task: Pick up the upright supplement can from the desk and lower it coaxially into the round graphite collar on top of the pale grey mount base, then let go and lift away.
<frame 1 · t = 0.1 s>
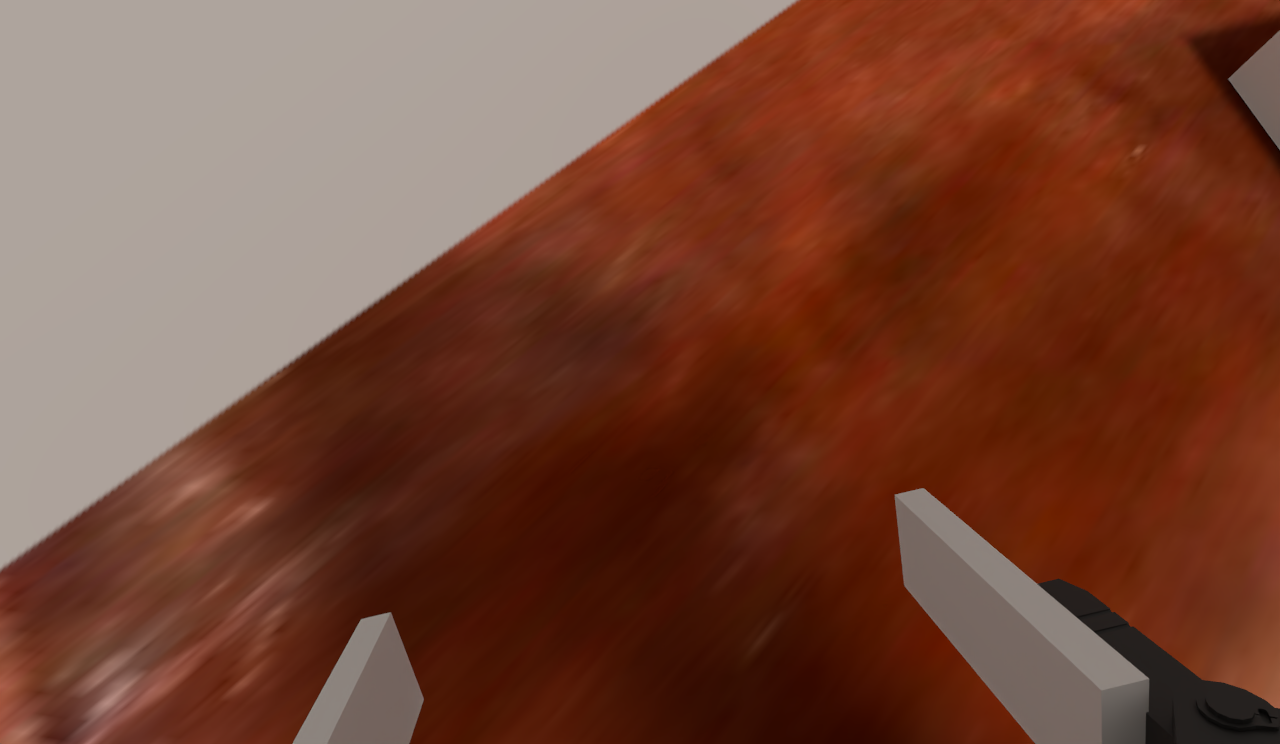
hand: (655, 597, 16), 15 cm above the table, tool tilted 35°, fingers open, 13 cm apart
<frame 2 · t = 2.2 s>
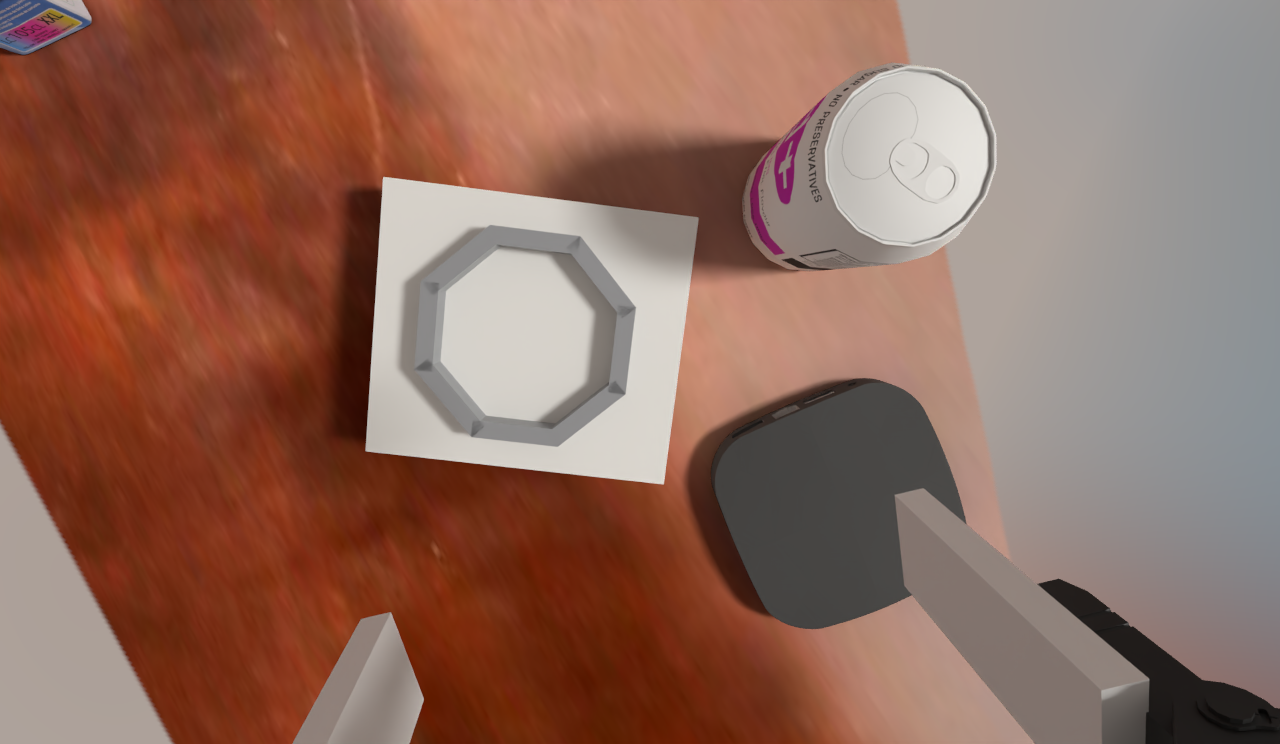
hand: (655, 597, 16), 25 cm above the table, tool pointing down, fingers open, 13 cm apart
supplement can: (802, 206, 40), on the table
mount base: (538, 331, 40), on the table
media streaming box: (829, 496, 43), on the table
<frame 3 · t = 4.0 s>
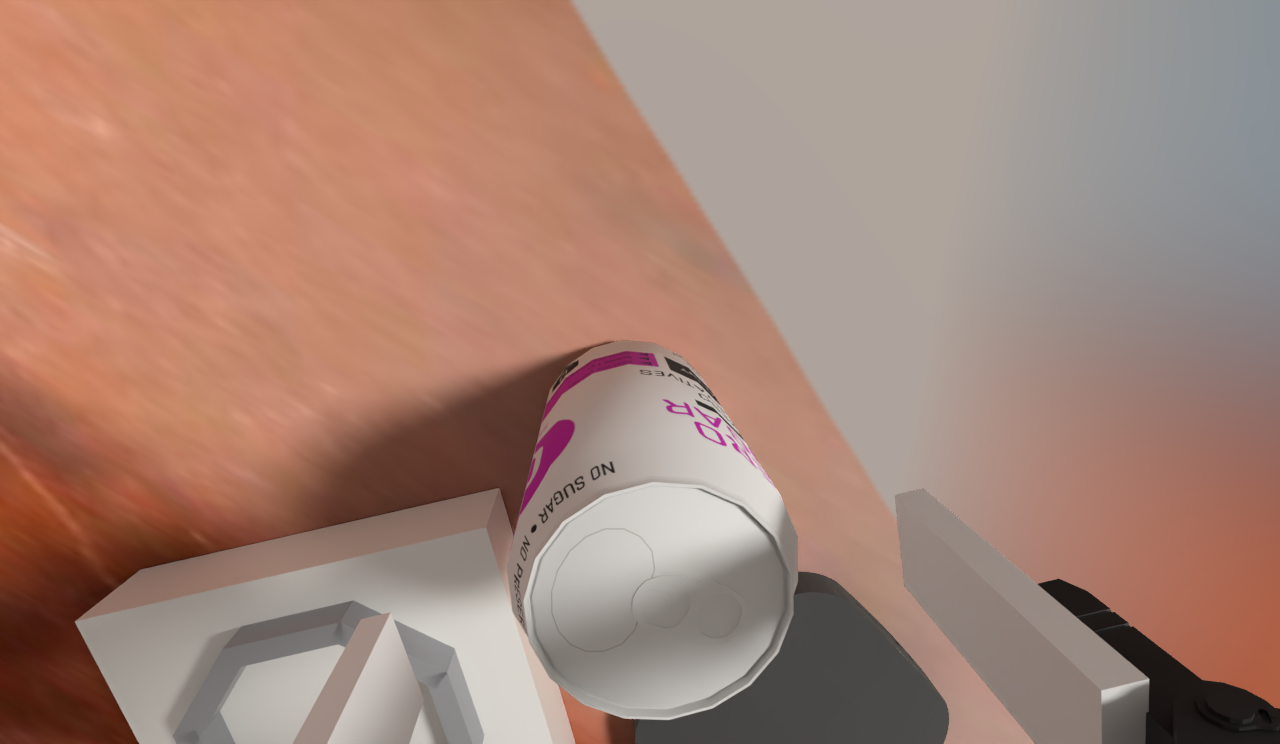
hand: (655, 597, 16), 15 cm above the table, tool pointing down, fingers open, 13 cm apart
supplement can: (628, 417, 31), on the table
mount base: (372, 661, 33), on the table
media streaming box: (781, 699, 36), on the table
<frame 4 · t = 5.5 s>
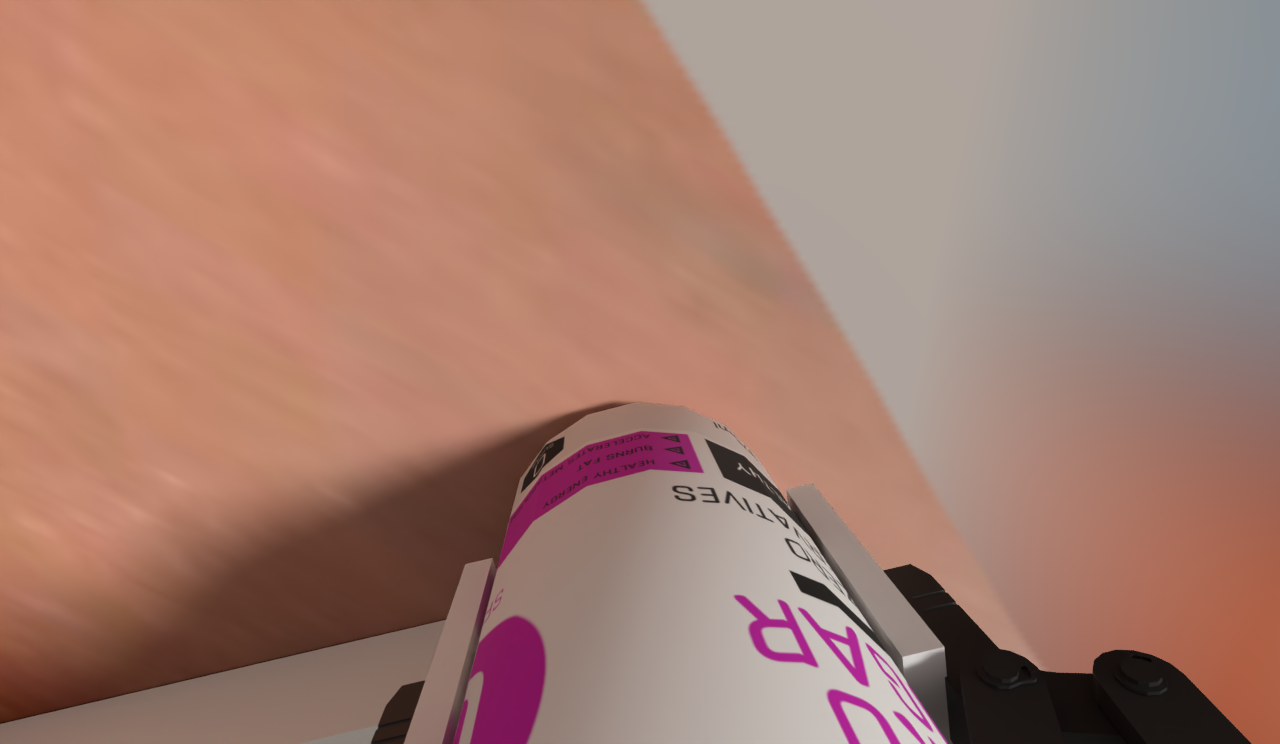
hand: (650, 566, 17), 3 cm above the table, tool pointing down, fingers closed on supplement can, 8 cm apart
supplement can: (641, 514, 20), on the table, touching gripper
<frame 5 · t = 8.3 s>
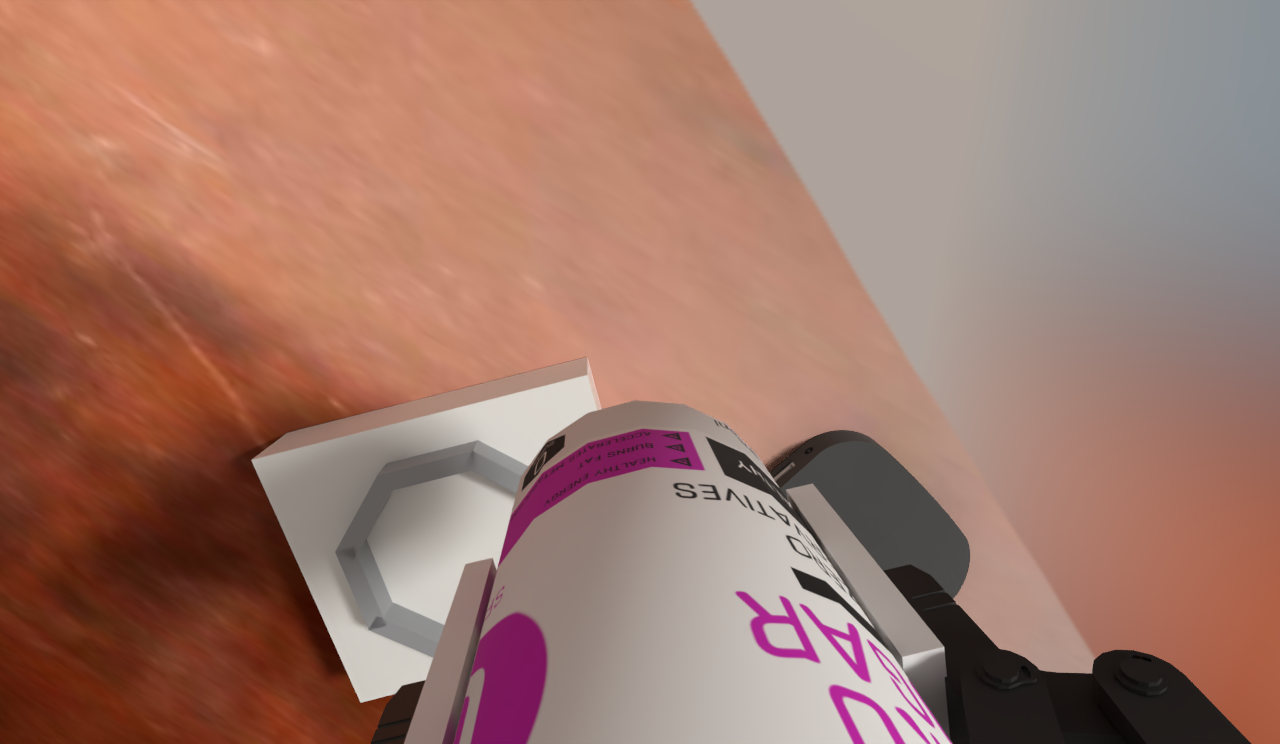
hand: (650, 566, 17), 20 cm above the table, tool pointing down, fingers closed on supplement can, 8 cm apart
supplement can: (642, 512, 20), point 17 cm above the table, touching gripper
mount base: (479, 513, 38), on the table
media streaming box: (824, 548, 42), on the table
when the fingers open (8 cm above the table, at t = 11.1 s): supplement can stays where it is, resting on mount base.
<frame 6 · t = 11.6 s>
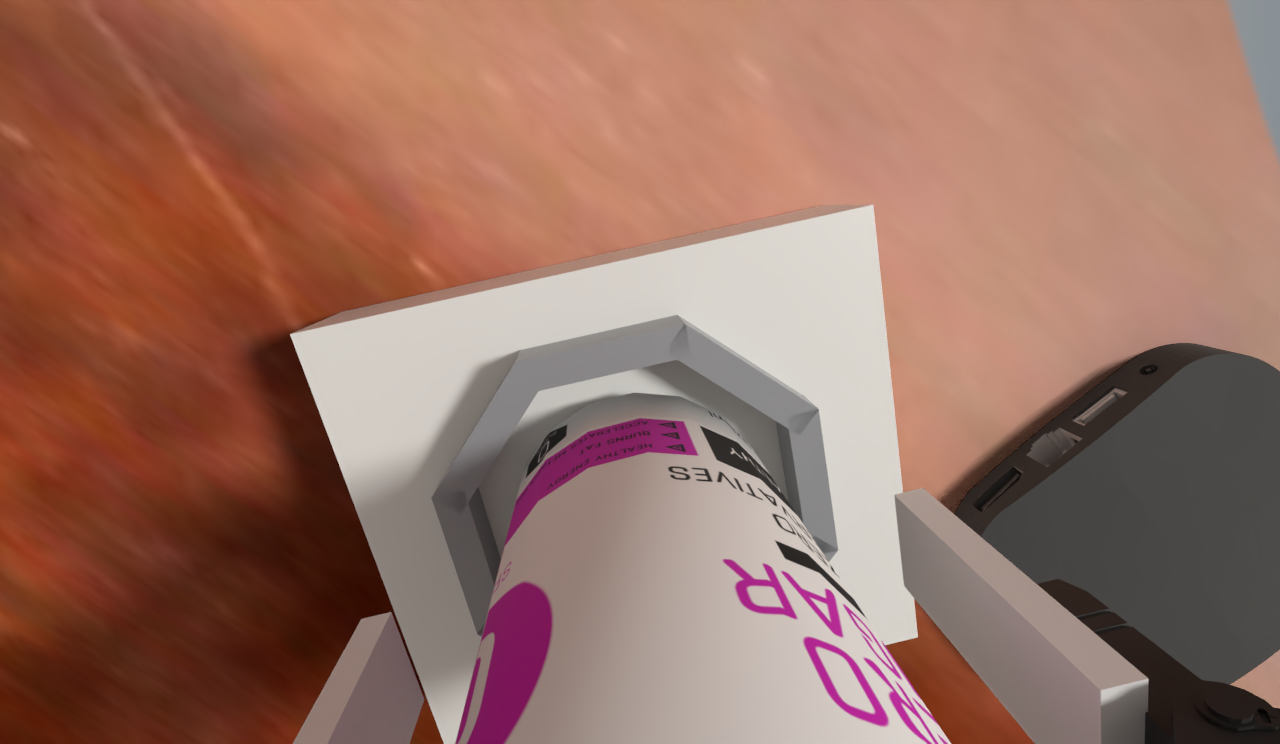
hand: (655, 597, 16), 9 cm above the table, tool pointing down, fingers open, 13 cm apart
supplement can: (640, 500, 21), point 4 cm above the table, touching mount base
mount base: (631, 456, 25), on the table
media streaming box: (1122, 526, 28), on the table
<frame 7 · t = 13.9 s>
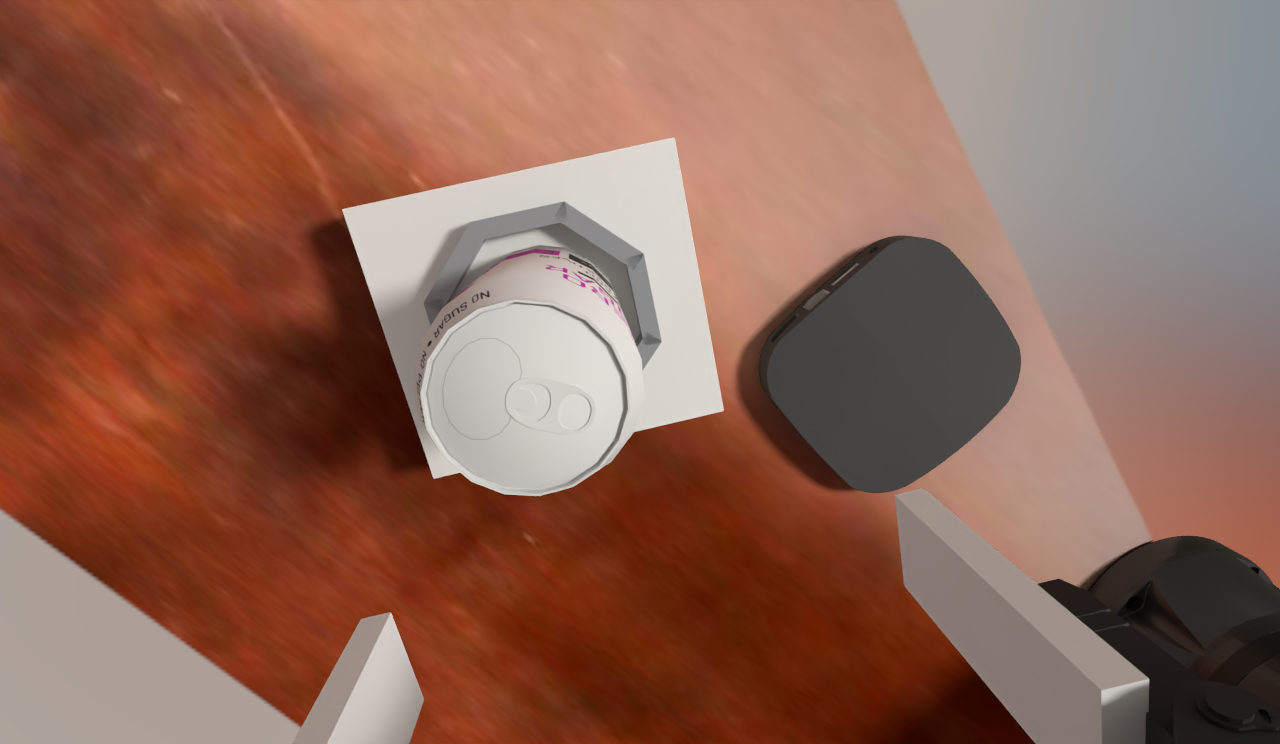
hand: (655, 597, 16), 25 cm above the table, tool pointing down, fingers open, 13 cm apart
supplement can: (548, 316, 35), point 4 cm above the table, touching mount base
mount base: (550, 305, 39), on the table
media streaming box: (878, 363, 43), on the table
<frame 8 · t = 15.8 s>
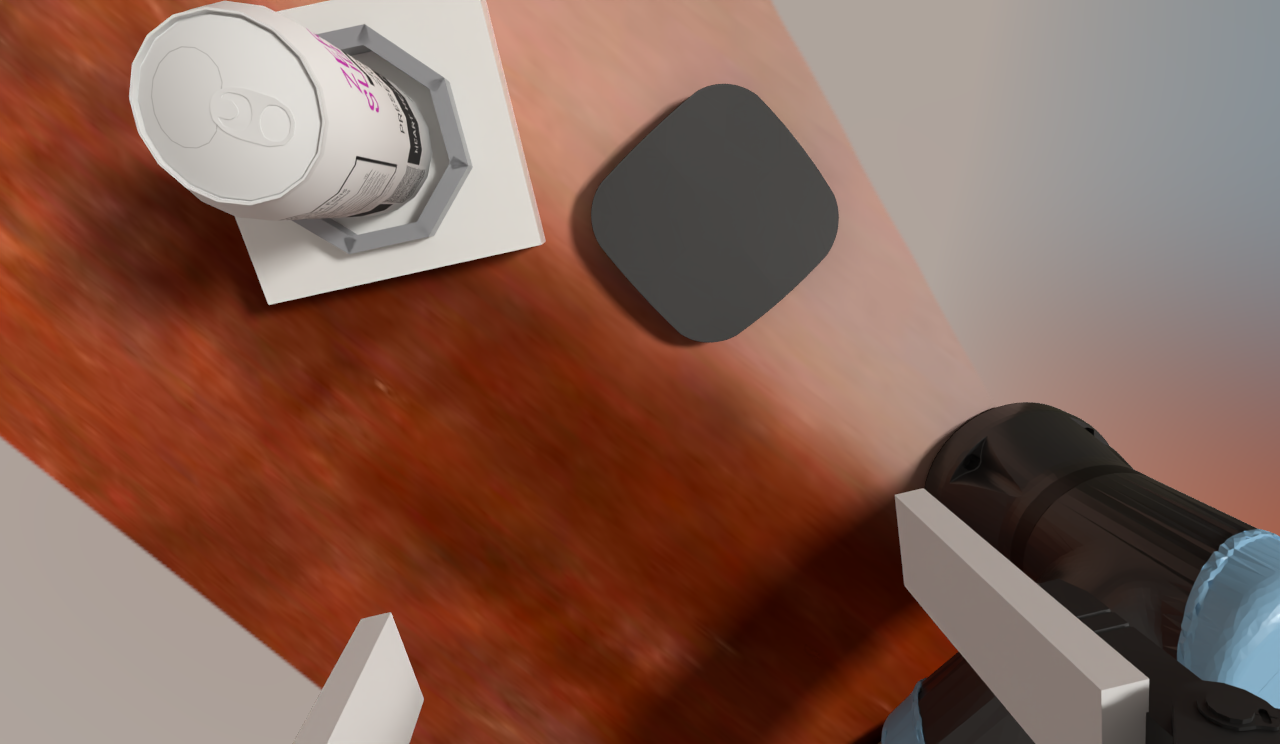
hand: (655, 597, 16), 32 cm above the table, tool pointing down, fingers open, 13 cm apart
supplement can: (367, 146, 38), point 4 cm above the table, touching mount base
mount base: (385, 151, 42), on the table
media streaming box: (710, 219, 45), on the table
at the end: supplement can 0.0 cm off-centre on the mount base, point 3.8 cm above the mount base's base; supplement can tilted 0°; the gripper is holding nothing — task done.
